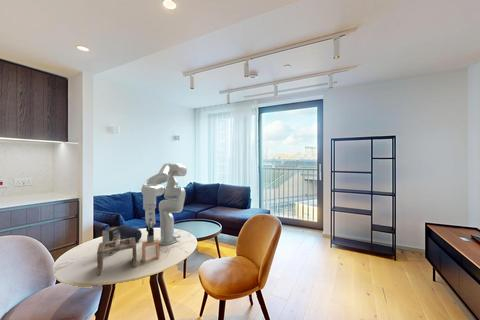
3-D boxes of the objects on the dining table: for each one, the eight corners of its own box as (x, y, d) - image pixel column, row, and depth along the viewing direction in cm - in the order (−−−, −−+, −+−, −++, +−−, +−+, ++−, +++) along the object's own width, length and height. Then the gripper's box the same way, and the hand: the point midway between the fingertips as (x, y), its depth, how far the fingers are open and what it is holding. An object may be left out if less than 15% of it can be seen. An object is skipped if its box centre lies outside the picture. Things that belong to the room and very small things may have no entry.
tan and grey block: (158, 255, 141) (157, 233, 141) (159, 258, 138) (158, 235, 138) (142, 259, 137) (141, 235, 137) (142, 261, 133) (142, 237, 133)
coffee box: (110, 255, 142) (110, 231, 142) (102, 255, 144) (101, 230, 143) (121, 249, 151) (120, 226, 151) (112, 249, 152) (112, 226, 152)
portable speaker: (144, 241, 167) (144, 227, 167) (131, 245, 158) (131, 231, 158) (125, 234, 180) (125, 222, 180) (113, 238, 172) (112, 226, 172)
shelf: (135, 257, 140) (134, 235, 139) (136, 267, 127) (136, 243, 127) (100, 264, 131) (99, 241, 130) (97, 275, 118) (97, 250, 118)
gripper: (158, 207, 131) (158, 236, 131) (154, 203, 146) (154, 228, 146) (144, 209, 127) (144, 238, 127) (142, 204, 142) (142, 230, 142)
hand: (150, 233), depth 137 cm, fingers open, 9 cm apart
